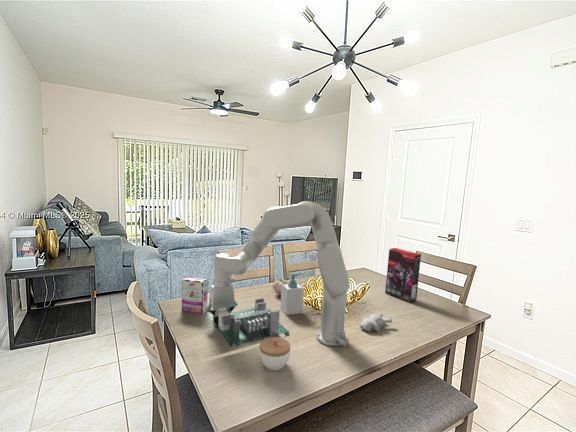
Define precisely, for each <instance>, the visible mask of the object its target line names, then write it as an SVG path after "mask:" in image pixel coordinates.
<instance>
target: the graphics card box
mask: <svg viewBox="0 0 576 432" xmlns="http://www.w3.org/2000/svg"><path fill="white" fill-rule="evenodd" d="M421 257H422V254H421V253H417V252H412V251H409V250H405V249H402V248H397V247H393V248H390V249H388V259H387V269H386V280H385V291H384V293H385V294H387V295H390V296H392V297H395V298H397V299H401V300H402V301H405V302H408V303H412V302H416V301H417V298H418V288H419V276H420V267H421V266H420V265H421Z"/></svg>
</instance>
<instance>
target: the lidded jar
mask: <svg viewBox="0 0 576 432" xmlns="http://www.w3.org/2000/svg"><path fill="white" fill-rule="evenodd" d="M290 353H291V343H290V342H289V341H288V339H285V338H283V337H278V336H271V337H267V338H264V339H263V340H262V339H261V341H260V343H259V357H260V361H261V364H263V366H265V368H266V370H269V371H273V372H276V371H280V370H282V368H283V367H284V366H286V364H287V363H288V361H289V359H290V356H291V355H290Z"/></svg>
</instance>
